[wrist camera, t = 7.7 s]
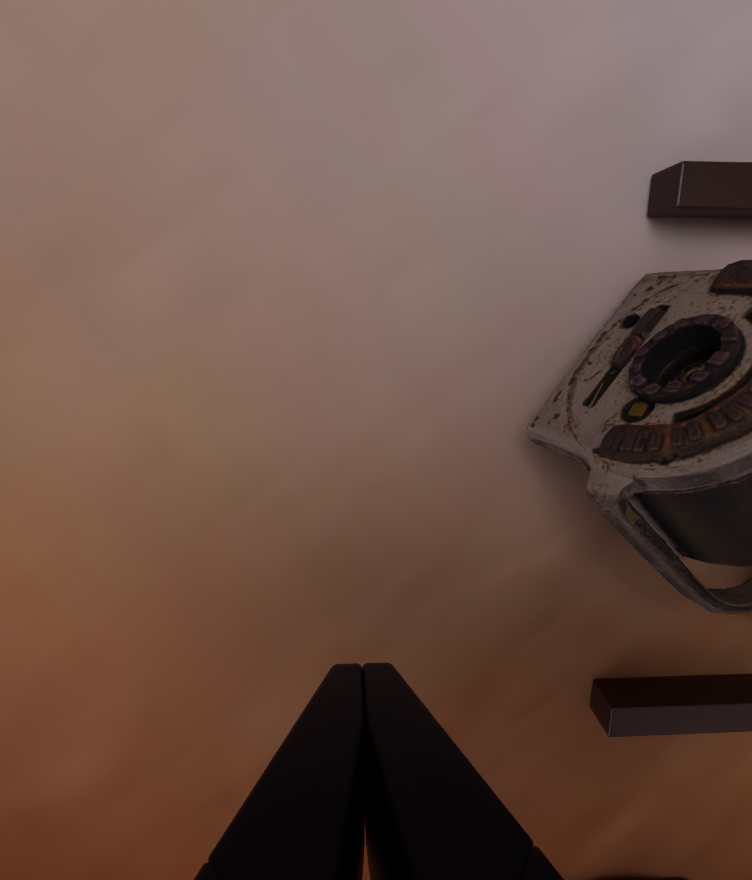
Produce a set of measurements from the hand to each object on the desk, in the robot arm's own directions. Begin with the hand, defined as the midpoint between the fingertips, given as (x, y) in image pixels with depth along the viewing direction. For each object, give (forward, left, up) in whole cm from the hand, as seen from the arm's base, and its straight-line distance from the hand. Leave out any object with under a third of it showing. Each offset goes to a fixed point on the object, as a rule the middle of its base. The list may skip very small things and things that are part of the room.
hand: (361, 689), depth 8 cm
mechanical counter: (0, -11, -10) cm, 15 cm away
